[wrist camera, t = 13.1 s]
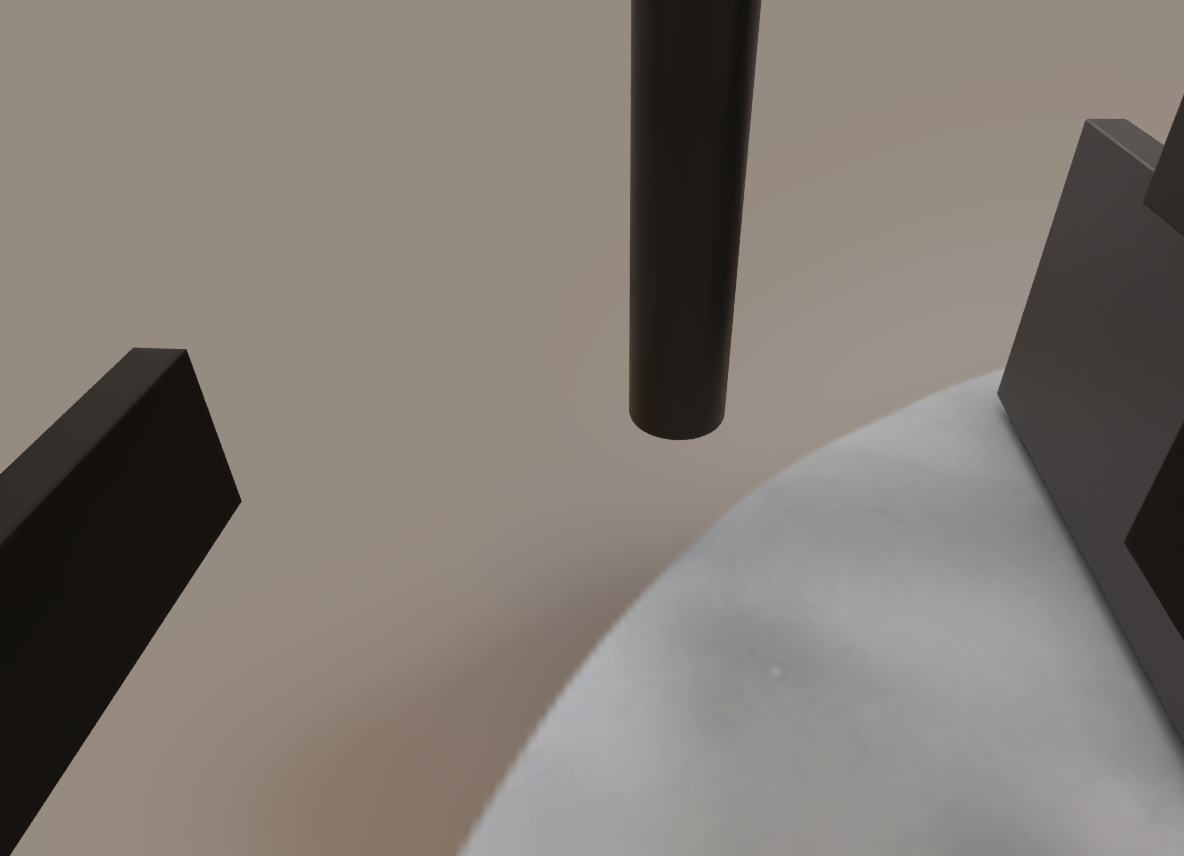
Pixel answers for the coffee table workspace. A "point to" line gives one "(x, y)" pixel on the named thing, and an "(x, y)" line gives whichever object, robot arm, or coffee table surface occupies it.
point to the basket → (1044, 338)
